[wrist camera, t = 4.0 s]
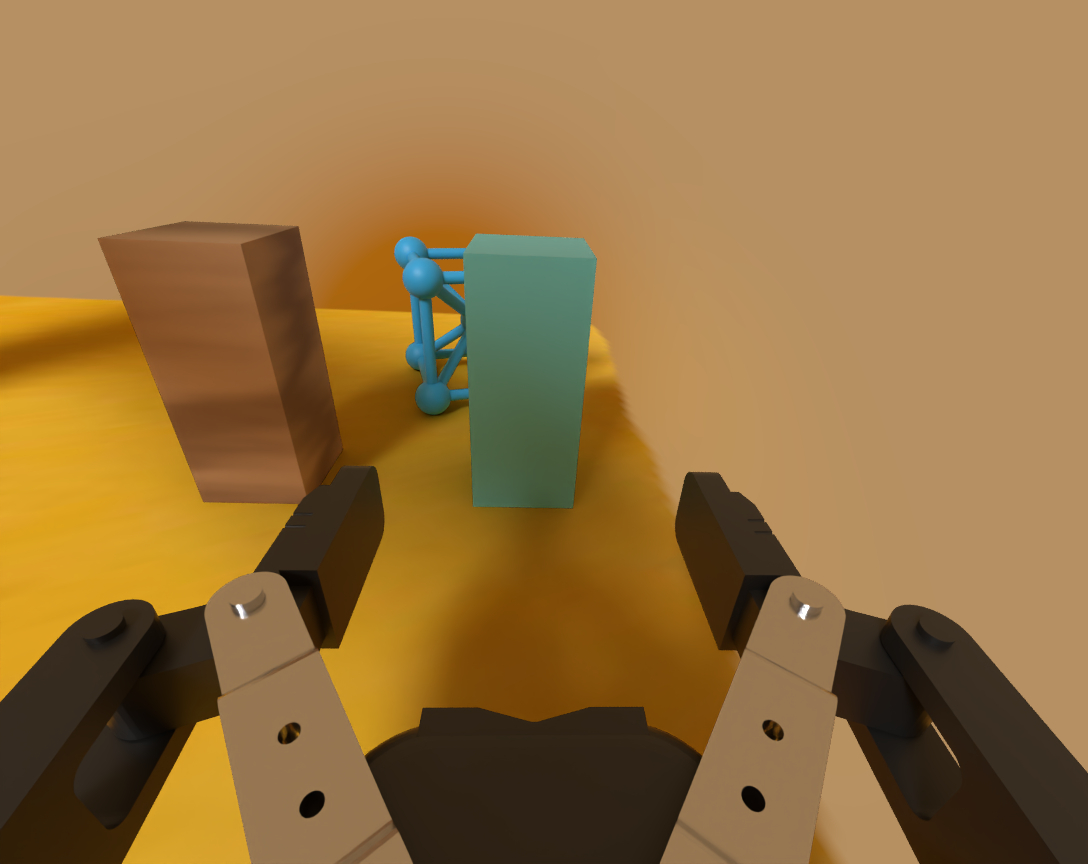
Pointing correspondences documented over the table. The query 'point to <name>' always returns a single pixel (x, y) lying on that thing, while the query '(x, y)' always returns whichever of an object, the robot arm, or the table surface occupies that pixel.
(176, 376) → the walnut pillar
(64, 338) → the table surface
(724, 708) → the robot arm
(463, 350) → the molecular structure
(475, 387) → the teal pillar
